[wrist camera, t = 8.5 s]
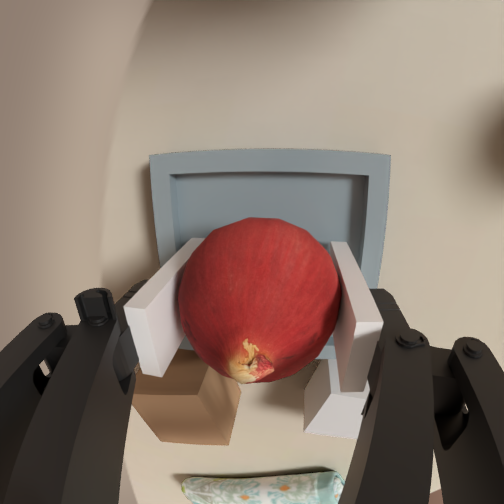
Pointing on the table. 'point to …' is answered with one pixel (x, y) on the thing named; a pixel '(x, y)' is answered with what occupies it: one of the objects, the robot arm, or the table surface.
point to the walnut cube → (188, 402)
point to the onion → (259, 299)
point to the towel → (266, 489)
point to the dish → (274, 199)
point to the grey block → (332, 404)
